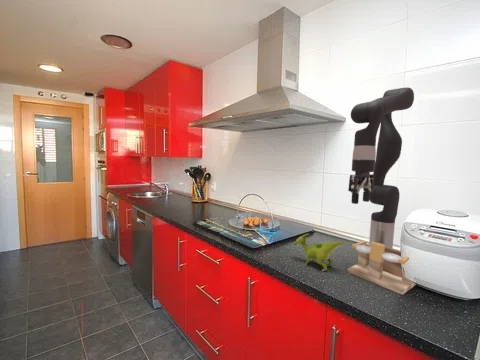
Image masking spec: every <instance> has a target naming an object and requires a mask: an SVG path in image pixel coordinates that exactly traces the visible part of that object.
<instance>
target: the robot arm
mask: <svg viewBox="0 0 480 360" xmlns="http://www.w3.org/2000/svg"><path fill="white" fill-rule="evenodd" d="M414 101H415V93H414V90H413V89H412V88H411V87H399V88H392V89H388V90H385V91H384V93H383V96H382V97H379V98H376V99H374V100H371V101H367V102H362V103H357V104H356V105H354V106H353V107H352V109H351V112H350V119H351V121H352V122H354V123H355V124H367V126H366V127H364V128H362V129H359V130H356V131H355V133H354V140H353V141H354V142H353V150H352V158H351V159H352V160H351V171H352V172H355V173H354V174H350V175H349V181H348V189H347V191H348V192H351V204H354V205H358V204H359V197H360V191H361V190H362V189H363V192H362V202H367V203H368V202H369V203H372V204H374V205H378V206H383V208H382V210H381V211H376V212H375V211H374V212H372V213H371V215H370V228H369V229H370V230H369V240H368V246H369V247H371V242H376V243H380V244H383V245H385V247H389V248H392V249H394V237H395V225H396V219H397V218H396V217H397V214H398V209H399V202H400V195H401V194H400V190H399V188H398V186H395V185H390V184H385V179H386V176H387V174H388V173H389V171H390V170H391V169H392V167H393V166H394V165H395V164H396V163H397V161H398V160H399V159H400V157H401V153H402V148H403V139H402V136H401V134H400V132H399V131H398V130H397V128H396V126H395V125H394V122H393V117H392V113H393V112H398V111H404V110H408V109H410V108H411V107H412V106H413V104H414ZM378 132H379V133H378ZM377 136H378V139H377ZM371 173H372V174H371ZM369 258H370V256H369Z"/></svg>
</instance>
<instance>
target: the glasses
mask: <svg viewBox="0 0 480 360" xmlns="http://www.w3.org/2000/svg"><path fill="white" fill-rule="evenodd" d="M351 249H355V250H356V251H357V252H358V253H359V252H362V253H370V257H369V260H370V259H372V260H375V261H378V262H381V263H382V262H384V260H386V261H389V262H395V263H402V264H405V263H406V262H407V261H408V260H409V257H407V255H406V256H405V257H403V258H401V257H400V256H399V255H396V254H393V253H385V245H383V244H380V243H376V242H371V247H369V245H367V240H362V241H360V242H356V243H352V244H351Z"/></svg>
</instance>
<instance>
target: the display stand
mask: <svg viewBox="0 0 480 360" xmlns="http://www.w3.org/2000/svg"><path fill="white" fill-rule="evenodd" d="M401 251H402V250H398V249H395V248H393V249H392V248H389V247H385V253H393V254H396V255H399V256H400V257H401ZM357 253H358V255H357V263H356V264H354V265H353V266H350V267H348V268H347V273H349V274H351V275H354V276H355V277H359V278H360V279H361V278H362V279H363V280H366V281H368V282H370V283H373V284H376V285H378V286H380V287H383V288H385V289H388V290H390V291H393V293H397V294H399V295H404V294H405V293H407V292H409V291H410V290H411V289H413V288H414V287H415V286H416V285H417V284H415V283H413V282H412V281H410V280H409V279H407V278H406V277H405V271H404V268H403V273H402V267H401V263H395V262H389V261H386V260H384V262H382V263H381V262H378V261H375V260H372V259H370V257H369V256H370V253H362V252H359V251H358V252H357Z"/></svg>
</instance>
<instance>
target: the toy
mask: <svg viewBox="0 0 480 360" xmlns="http://www.w3.org/2000/svg"><path fill="white" fill-rule="evenodd" d="M307 236H310V233H305V234H303V235H300V236H299V237H298V238H296V240H295V241H294V242H293V244H294V246H299V245H300V246H301V247H302V248H303V249H304V251H305V254H306V259H307V260H306V261H305V266H307V264H308V263H309V262H310V260H311V261H315V262H316V263H317V264H318V265H320V266H322V267H323V268H322V272H323V271H324V272H325V271H328V267H329V266H333V260H332V259H331V258H330V257H331V255H332V254H333V253H334V252H335V251H336V250H337V249H338V248H339V247H341V246H342V245H345V244H346V243H347V242H346V241H331V242H318V243H315V244H313V245H309V244H307V243H306V238H307ZM325 261H328V263H327V264H326V263H325Z"/></svg>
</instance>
